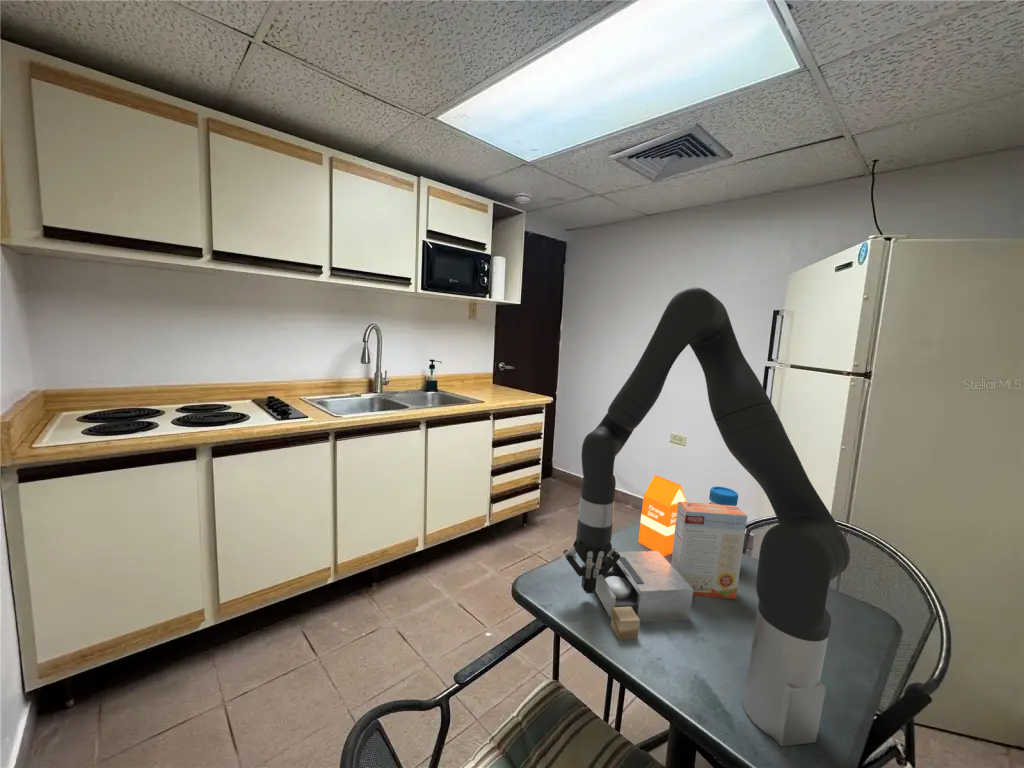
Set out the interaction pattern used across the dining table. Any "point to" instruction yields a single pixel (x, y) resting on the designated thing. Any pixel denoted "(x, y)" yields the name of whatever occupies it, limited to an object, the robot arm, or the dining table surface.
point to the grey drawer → (609, 597)
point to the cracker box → (709, 547)
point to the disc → (619, 587)
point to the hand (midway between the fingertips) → (588, 591)
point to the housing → (656, 586)
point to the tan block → (625, 623)
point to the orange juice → (660, 515)
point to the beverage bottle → (723, 496)
